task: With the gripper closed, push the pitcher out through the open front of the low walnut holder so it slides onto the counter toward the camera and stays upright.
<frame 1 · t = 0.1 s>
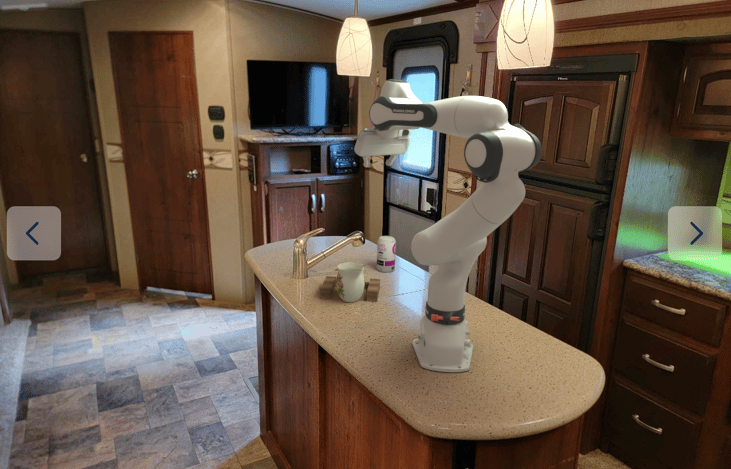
hand: (377, 165, 168), 52 cm above the worktop, tool tilted 20°, fingers open, 8 cm apart
holder: (350, 293, 192), on the worktop
supplement can: (385, 270, 220), on the worktop
pitcher: (349, 298, 187), on the worktop
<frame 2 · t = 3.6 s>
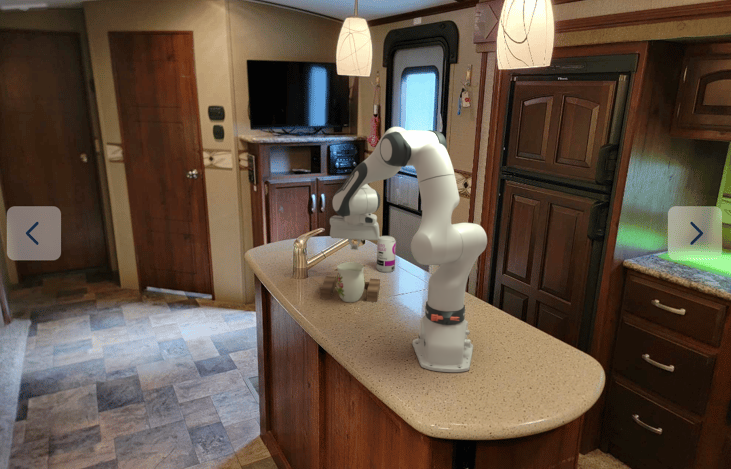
hand: (354, 249, 199), 15 cm above the worktop, tool pointing down, fingers closed
nothing on the worktop moved.
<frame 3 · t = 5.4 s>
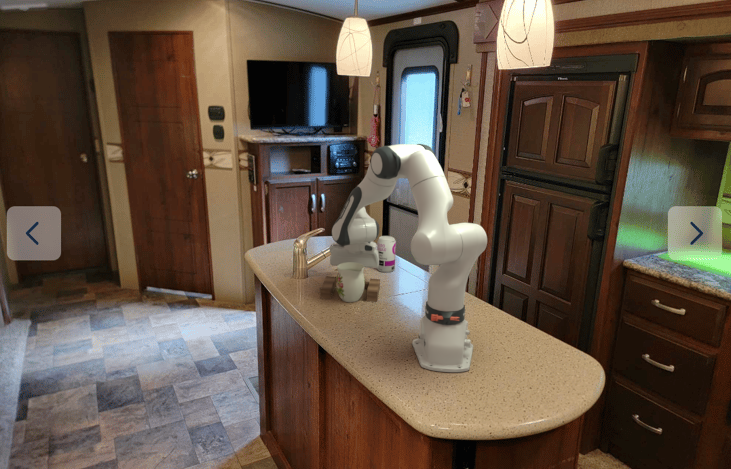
hand: (354, 276, 201), 3 cm above the worktop, tool pointing down, fingers closed
nothing on the worktop moved.
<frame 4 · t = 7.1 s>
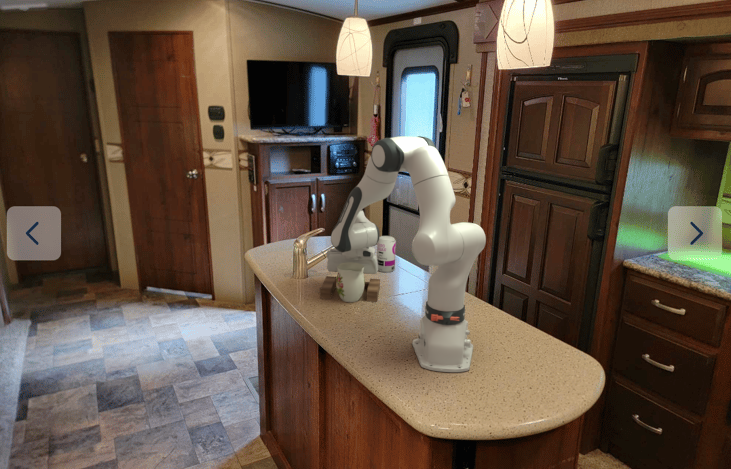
hand: (352, 282, 194), 3 cm above the worktop, tool pointing down, fingers closed
pitcher: (349, 298, 187), on the worktop, touching gripper
everything else where it was.
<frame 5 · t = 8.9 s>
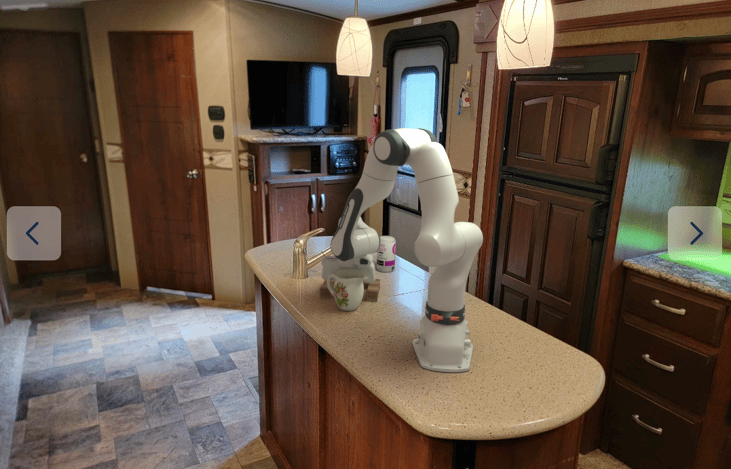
hand: (348, 291, 184), 4 cm above the worktop, tool pointing down, fingers closed
pitcher: (346, 306, 179), on the worktop, touching gripper
everything else where it was.
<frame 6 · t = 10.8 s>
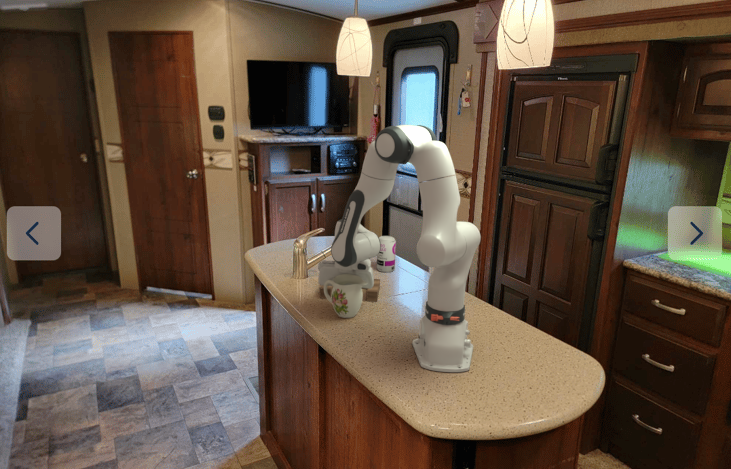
hand: (345, 297, 178), 4 cm above the worktop, tool pointing down, fingers closed
pitcher: (344, 313, 174), on the worktop, touching gripper
everything else where it was.
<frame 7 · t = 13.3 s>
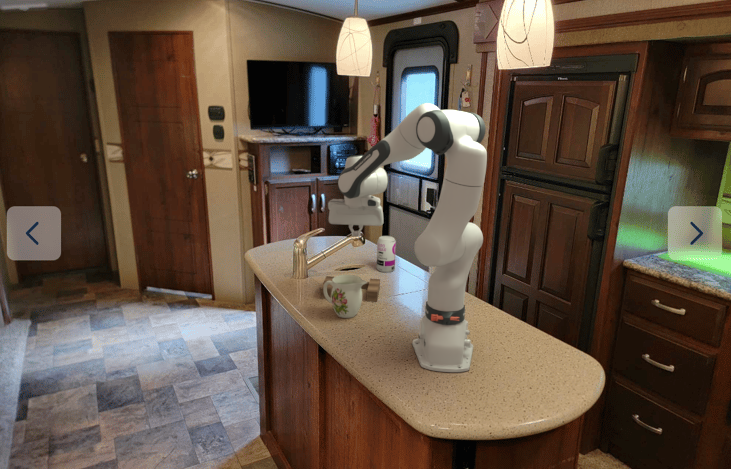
hand: (355, 236, 180), 25 cm above the worktop, tool pointing down, fingers closed
pitcher: (344, 314, 174), on the worktop
everything else where it was.
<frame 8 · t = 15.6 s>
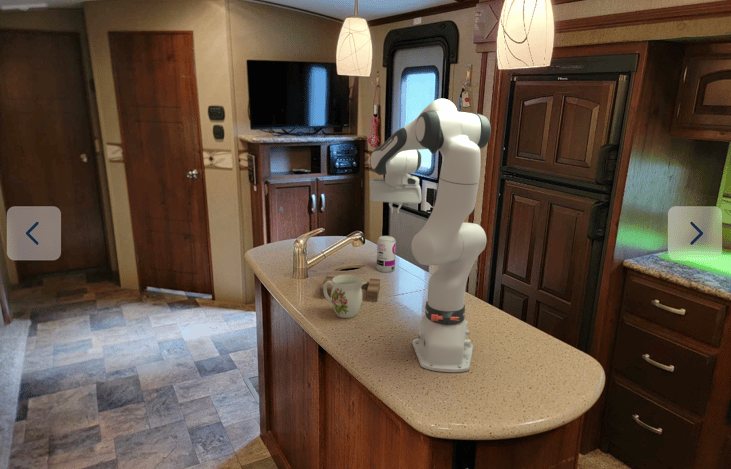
hand: (395, 213, 191), 31 cm above the worktop, tool pointing down, fingers closed
nothing on the worktop moved.
at the end: pitcher inside the target area (1.6 cm from its centre), on the worktop; pitcher tilted 0° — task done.
